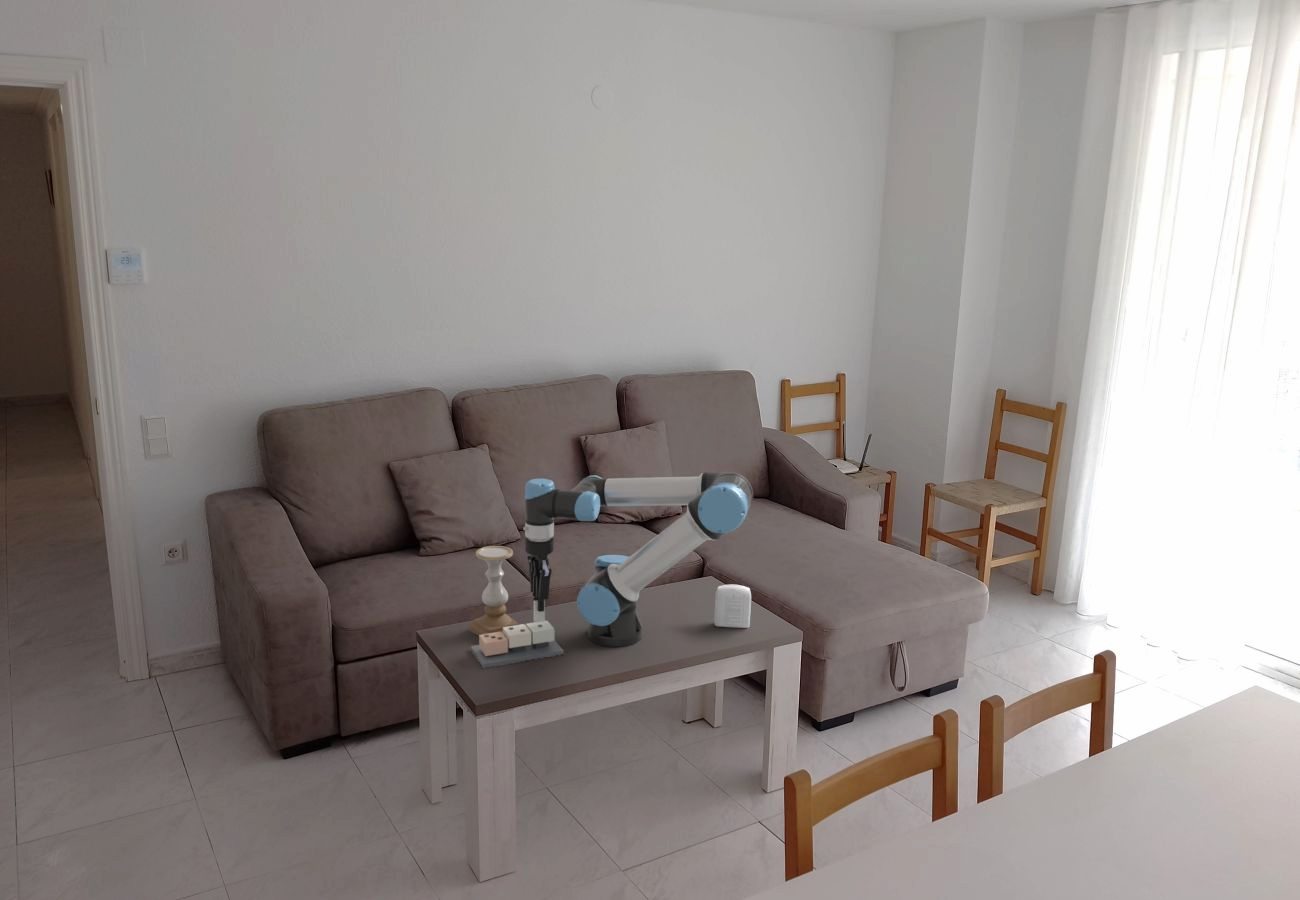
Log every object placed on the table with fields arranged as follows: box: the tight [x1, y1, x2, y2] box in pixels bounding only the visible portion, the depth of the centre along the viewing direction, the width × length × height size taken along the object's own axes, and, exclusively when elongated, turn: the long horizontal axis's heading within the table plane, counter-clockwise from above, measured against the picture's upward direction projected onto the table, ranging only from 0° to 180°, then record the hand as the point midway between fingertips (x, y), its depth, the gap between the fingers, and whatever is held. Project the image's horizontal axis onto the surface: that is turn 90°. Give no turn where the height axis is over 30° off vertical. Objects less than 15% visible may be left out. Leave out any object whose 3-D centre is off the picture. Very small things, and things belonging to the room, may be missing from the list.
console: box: [470, 639, 565, 669], centre depth 273 cm, size 22×12×4 cm, turn 115°
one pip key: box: [525, 619, 555, 644], centre depth 275 cm, size 6×6×4 cm
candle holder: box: [469, 545, 519, 637], centre depth 283 cm, size 11×11×24 cm
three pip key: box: [478, 632, 508, 656], centre depth 270 cm, size 6×6×4 cm
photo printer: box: [713, 583, 752, 629], centre depth 293 cm, size 10×4×12 cm, turn 86°
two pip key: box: [503, 623, 531, 648], centre depth 272 cm, size 6×6×4 cm
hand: (539, 620), depth 274 cm, fingers closed
